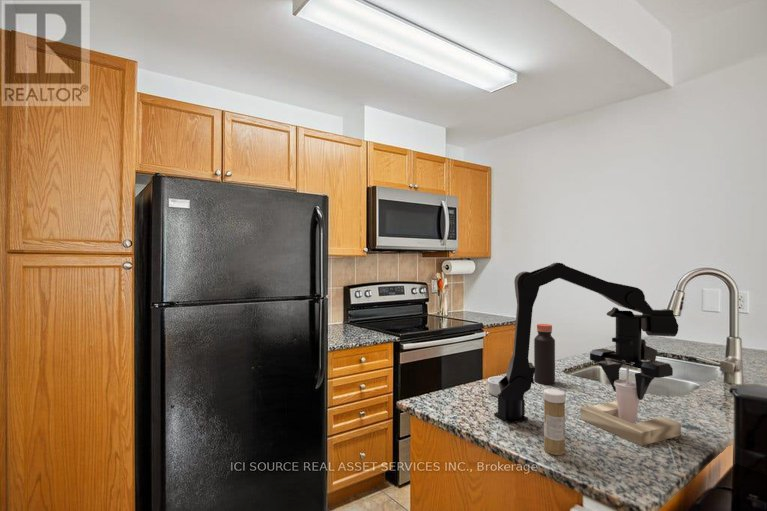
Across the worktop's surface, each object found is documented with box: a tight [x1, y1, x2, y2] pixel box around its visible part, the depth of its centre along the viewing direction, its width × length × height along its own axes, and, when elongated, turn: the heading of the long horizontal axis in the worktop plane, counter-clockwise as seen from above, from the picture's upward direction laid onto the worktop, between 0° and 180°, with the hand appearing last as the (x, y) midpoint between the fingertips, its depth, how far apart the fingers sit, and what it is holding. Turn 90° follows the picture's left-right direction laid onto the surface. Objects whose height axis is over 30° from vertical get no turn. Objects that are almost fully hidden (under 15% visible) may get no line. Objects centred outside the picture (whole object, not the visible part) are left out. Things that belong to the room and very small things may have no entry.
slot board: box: [579, 400, 682, 447], centre depth 103 cm, size 14×17×3 cm
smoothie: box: [614, 366, 640, 424], centre depth 104 cm, size 6×6×14 cm
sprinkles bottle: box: [542, 388, 567, 456], centre depth 90 cm, size 5×5×14 cm
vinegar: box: [533, 323, 556, 385], centre depth 142 cm, size 7×7×20 cm
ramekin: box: [487, 376, 505, 398], centre depth 129 cm, size 9×9×4 cm
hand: (628, 395), depth 104 cm, fingers closed on smoothie, 6 cm apart
